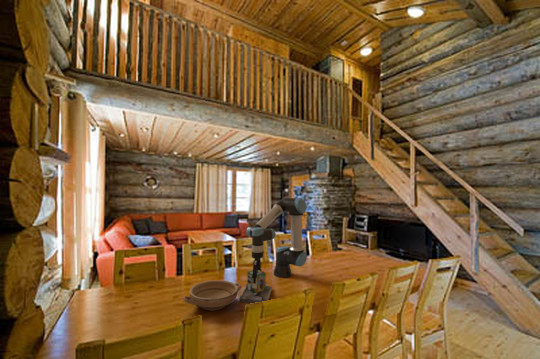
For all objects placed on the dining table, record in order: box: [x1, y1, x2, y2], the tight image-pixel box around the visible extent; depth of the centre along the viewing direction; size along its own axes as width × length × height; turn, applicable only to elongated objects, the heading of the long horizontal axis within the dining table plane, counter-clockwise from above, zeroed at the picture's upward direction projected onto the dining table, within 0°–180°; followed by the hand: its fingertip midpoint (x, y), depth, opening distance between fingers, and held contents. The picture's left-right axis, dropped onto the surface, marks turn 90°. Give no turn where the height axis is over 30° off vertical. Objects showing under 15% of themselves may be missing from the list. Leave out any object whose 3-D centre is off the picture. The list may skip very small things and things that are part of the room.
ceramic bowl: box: [182, 279, 242, 312], centre depth 148 cm, size 37×29×10 cm
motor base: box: [238, 281, 273, 304], centre depth 164 cm, size 23×18×8 cm
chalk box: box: [246, 270, 267, 293], centre depth 162 cm, size 9×9×15 cm
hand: (256, 284), depth 161 cm, fingers closed on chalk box, 12 cm apart
